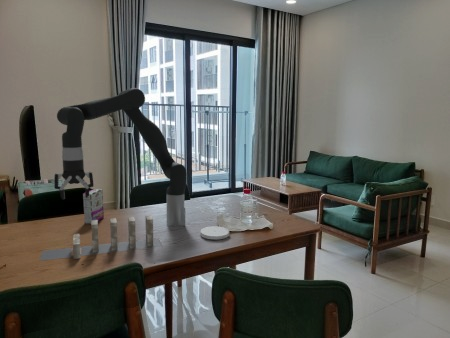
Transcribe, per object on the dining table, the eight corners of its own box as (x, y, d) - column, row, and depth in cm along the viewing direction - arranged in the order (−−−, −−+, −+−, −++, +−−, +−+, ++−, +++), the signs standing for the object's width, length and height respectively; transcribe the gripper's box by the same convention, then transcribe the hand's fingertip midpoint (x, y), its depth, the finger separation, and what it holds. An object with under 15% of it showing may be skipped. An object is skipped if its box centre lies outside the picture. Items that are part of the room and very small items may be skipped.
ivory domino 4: (151, 240, 154) (150, 215, 152) (153, 245, 148) (153, 219, 146) (145, 241, 153) (145, 215, 151) (147, 246, 147) (147, 219, 145)
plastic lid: (206, 243, 156) (206, 238, 155) (196, 233, 168) (196, 228, 168) (233, 239, 162) (234, 233, 161) (221, 229, 174) (221, 225, 174)
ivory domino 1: (98, 246, 146) (97, 219, 144) (98, 251, 140) (97, 224, 138) (92, 247, 145) (91, 220, 143) (92, 252, 139) (91, 224, 137)
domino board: (158, 240, 157) (158, 237, 157) (162, 248, 148) (162, 245, 148) (42, 253, 140) (42, 250, 140) (39, 263, 131) (39, 260, 130)
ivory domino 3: (134, 242, 151) (133, 216, 149) (135, 247, 145) (135, 220, 143) (128, 243, 150) (128, 217, 148) (130, 248, 145) (129, 221, 143)
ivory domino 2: (116, 244, 148) (115, 218, 146) (117, 249, 143) (116, 222, 141) (111, 245, 147) (110, 218, 145) (111, 250, 142) (110, 223, 140)
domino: (79, 233, 143) (79, 243, 132) (80, 246, 144) (80, 258, 133) (73, 234, 142) (72, 244, 131) (74, 247, 143) (73, 259, 132)
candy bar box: (95, 217, 188) (94, 188, 185) (104, 218, 187) (103, 189, 184) (83, 223, 177) (82, 193, 174) (92, 224, 176) (91, 193, 173)
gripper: (92, 156, 139) (94, 194, 142) (53, 157, 134) (56, 197, 137) (92, 159, 132) (94, 199, 135) (51, 160, 127) (54, 201, 130)
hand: (75, 198), depth 136 cm, fingers open, 8 cm apart
